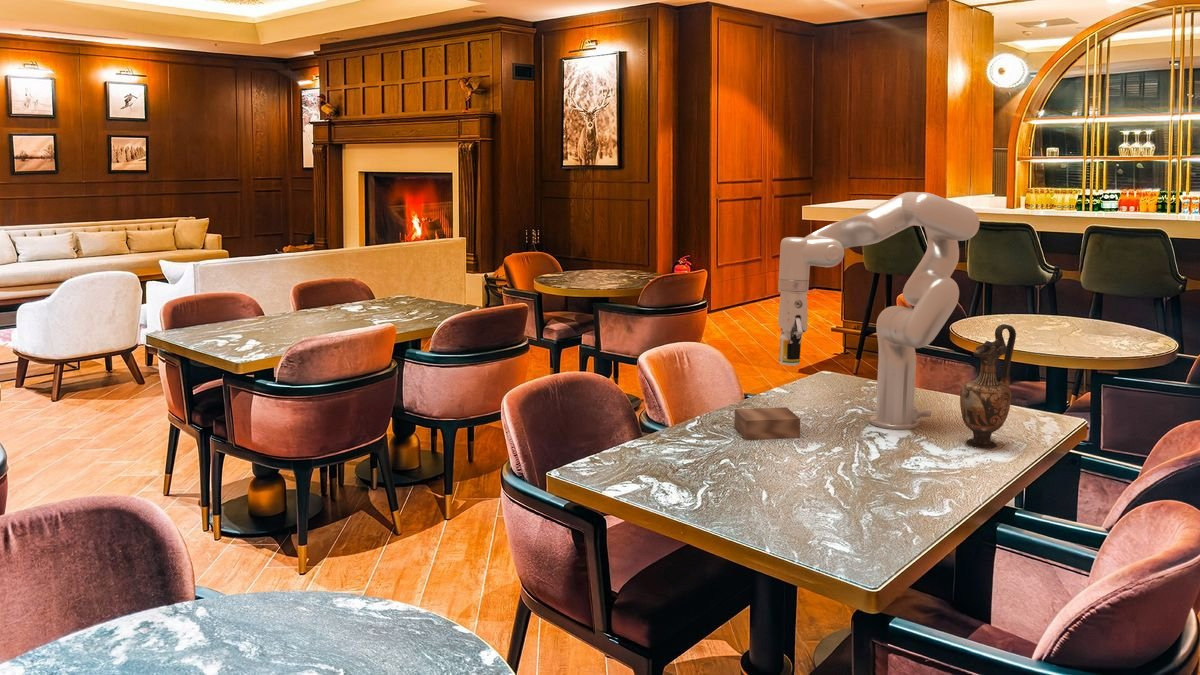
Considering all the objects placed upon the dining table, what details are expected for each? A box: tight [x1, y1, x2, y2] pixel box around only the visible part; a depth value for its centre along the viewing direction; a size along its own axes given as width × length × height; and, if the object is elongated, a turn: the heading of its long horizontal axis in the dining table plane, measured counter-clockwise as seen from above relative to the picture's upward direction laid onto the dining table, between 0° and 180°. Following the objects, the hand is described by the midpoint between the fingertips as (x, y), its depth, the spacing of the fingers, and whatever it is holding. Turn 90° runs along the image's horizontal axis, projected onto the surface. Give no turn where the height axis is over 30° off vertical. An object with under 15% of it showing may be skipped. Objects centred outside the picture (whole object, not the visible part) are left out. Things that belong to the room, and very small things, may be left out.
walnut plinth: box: [734, 406, 801, 441], centre depth 246 cm, size 14×12×5 cm
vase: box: [959, 323, 1017, 450], centre depth 232 cm, size 12×12×30 cm
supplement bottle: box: [778, 329, 802, 367], centre depth 243 cm, size 5×5×10 cm
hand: (789, 356), depth 243 cm, fingers closed on supplement bottle, 5 cm apart
